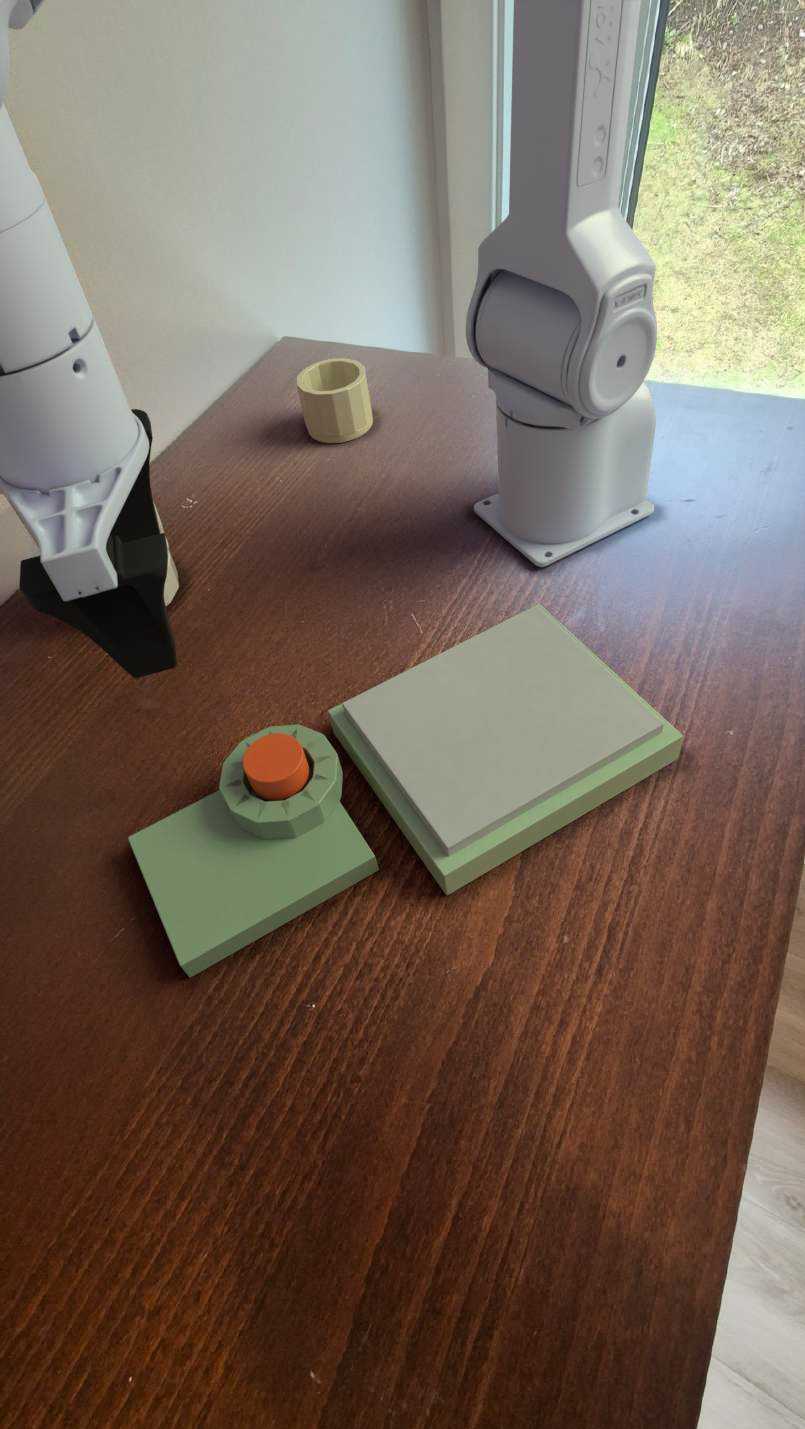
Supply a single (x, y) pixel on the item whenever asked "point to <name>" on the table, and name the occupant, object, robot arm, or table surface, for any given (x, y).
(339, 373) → the beige cup
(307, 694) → the table surface
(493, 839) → the scale
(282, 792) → the button
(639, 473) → the robot arm
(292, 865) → the block
